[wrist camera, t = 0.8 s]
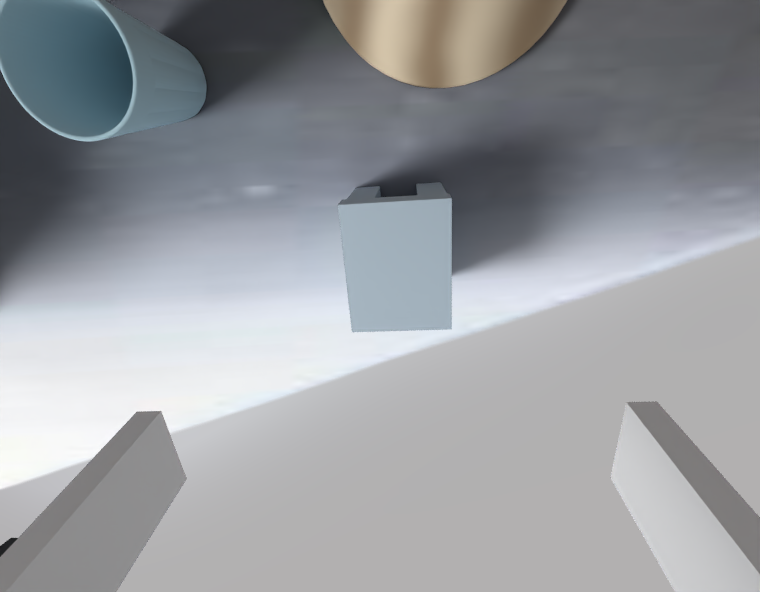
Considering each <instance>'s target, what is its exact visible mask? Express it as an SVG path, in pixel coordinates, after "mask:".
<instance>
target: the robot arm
mask: <svg viewBox="0 0 760 592" xmlns="http://www.w3.org/2000/svg"><path fill="white" fill-rule="evenodd" d="M611 480H612V482H613V483H614V485H615V487H616V489H617V490H618V492H619V494H620V496H621V497H622V499H623V501H624V503H625V504H626V506H627V508H628V510H629V512H630V513H631V515H632V517H633V518H634V520H635V522H636V524H637V525H638V527H639V529H640V531H641V533H642V535H643V536H644V538H645V540H646V542H647V543H648V545H649V547H650V549H651V550H652V552H653V554H654V556H655V557H656V559H657V561H658V563H659V565H660V566H661V568H662V570H663V572H664V573H665V575H666V577H667V579H668V580H669V582H670V584H671V586H672V587H673V589H674V591H675V592H760V517H759V516H758V515H757V514H756V513H755V512H754V510H753V509H752V508H751V507H750V506H749V505H748V504H747V503H746V502H745V500H744V499H743V498H742V497H741V496H740V495H739V494H738V492H737V491H736V490H735V489H734V488H733V487H732V486H731V485H730V483H729V482H728V481H727V480H726V479H725V478H724V477H723V475H722V474H721V473H720V472H719V471H718V470H717V469H716V468H715V467H714V465H713V464H712V463H711V462H710V461H709V460H708V459H707V457H706V456H704V454H703V453H702V452H701V451H700V450H699V449H698V447H697V446H696V445H695V444H694V443H693V442H692V441H691V439H690V438H689V437H688V436H687V435H686V434H685V433H684V432H683V430H682V429H681V428H680V427H679V426H678V425H677V424H676V423H675V422H674V420H673V419H672V418H671V417H670V416H669V415H668V414H667V413H666V411H665V410H664V409H663V408H662V407H661V406H660V404H659V403H658V402H627V403H626V407H625V412H624V416H623V421H622V426H621V430H620V435H619V440H618V445H617V449H616V454H615V459H614V463H613V468H612V473H611ZM185 481H186V476H185V473H184V470H183V468H182V465H181V463H180V460H179V457H178V455H177V452H176V449H175V447H174V445H173V441H172V439H171V436H170V434H169V431H168V428H167V426H166V423H165V420H164V418H163V415H162V412H161V411H150V412H136V413H135V414H134V415H133V416H132V418H131V419H130V420H129V421H128V422H127V423H126V424H125V425H124V426H123V427H122V428H121V429H120V430H119V431H118V432H117V433H116V435H115V436H114V437H113V438H112V439H111V440H110V441H109V442H108V443H107V444H106V445H105V446H104V447H103V448H102V449H101V451H100V452H99V453H98V454H97V455H96V456H95V457H94V458H93V459H92V460H91V461H90V462H89V463H88V464H87V465H86V467H85V468H84V469H83V470H82V471H81V472H80V473H79V474H78V475H77V476H76V477H75V478H74V479H73V480H72V482H70V484H69V485H68V486H67V487H66V488H65V489H64V490H63V491H62V492H61V493H60V494H59V495H58V496H57V497H56V498H55V499H54V501H53V502H52V503H51V504H50V505H49V506H48V507H47V508H46V509H45V510H44V511H43V512H42V513H41V514H40V516H38V518H37V519H36V520H35V521H34V522H33V523H32V524H31V525H30V526H29V527H28V528H27V529H26V530H25V532H23V533H22V535H21V536H20V537H19V538H10V539H9V540H8V541H6V542H5V543H4V544H2V545H1V546H0V592H116V591H117V590H118V588H119V587H120V585H121V583H122V582H123V580H124V578H125V577H126V575H127V573H128V572H129V571H130V569H131V567H132V566H133V564H134V562H135V561H136V559H137V558H138V556H139V554H140V553H141V551H142V550H143V548H144V546H145V545H146V543H147V542H148V540H149V538H150V537H151V535H152V534H153V532H154V530H155V529H156V527H157V526H158V524H159V522H160V521H161V519H162V518H163V516H164V514H165V513H166V511H167V510H168V508H169V506H170V504H171V503H172V502H173V500H174V498H175V497H176V495H177V494H178V492H179V490H180V489H181V487H182V486H183V484H184V482H185Z"/></svg>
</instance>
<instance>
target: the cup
mask: <svg viewBox="0 0 760 592" xmlns="http://www.w3.org/2000/svg"><path fill="white" fill-rule="evenodd" d="M0 70H1V72H2V74H3V77H4V79H5V81H6V83H7V84H8V86H9V88H10V90H11V91H12V93H13V94H14V96H15V97H16V99H17V100H18V101H19V103H20V104H21V105H22V106H23V107H24V109H25V110H26V111H27V112H28V113H29V114H30V115H31V116H32V117H34V118H35V119H36V120H37V121H38V122H40V123H41V124H42V125H43V126H45V127H46V128H48V129H50V130H51V131H53V132H55V133H57V134H59V135H61V136H64V137H67V138H69V139H73V140H78V141H99V140H103V139H108V138H112V137H116V136H121V135H125V134H129V133H133V132H138V131H142V130H147V129H151V128H155V127H160V126H164V125H169V124H173V123H177V122H181V121H185V120H187V119H189V118H191V117H193V116H195V115H196V114H197V113H198V112H199V111H200V109H201V108H202V106H203V104H204V102H205V99H206V90H207V86H206V80H205V76H204V73H203V70H202V67H201V66H200V64H199V62H198V61H197V60H196V58H195V57H194V56H193V54H192V53H191V52H190V51H189V50H188V49H186V48H185V47H183V46H181V45H180V44H178V43H177V42H175V41H173V40H172V39H170V38H168V37H166V36H165V35H163V34H161V33H159V32H158V31H156V30H154V29H153V28H151V27H149V26H147V25H146V24H144V23H142V22H140V21H139V20H137V19H135V18H134V17H132V16H130V15H128V14H127V13H125V12H123V11H121V10H120V9H118V8H116V7H115V6H113V5H112V4H110V3H109V2H107V1H105V0H0Z"/></svg>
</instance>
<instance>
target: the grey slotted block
mask: <svg viewBox="0 0 760 592" xmlns="http://www.w3.org/2000/svg"><path fill="white" fill-rule="evenodd" d="M416 190H417V195H412V196H396V197H381V194H380V186H376V187H360V188H355V190H354V191H353V192H352V193H351V195H350V196H349V197H348V198H347V199H346V200H342V201H341V202H340V203H339V204H338V212H339V221H340V230H341V239H342V248H343V256H344V265H345V274H346V283H347V292H348V301H349V310H350V318H351V327H352V332H375V331H409V330H443V329H452V198H451V196H450V194H449V193H446V191H445V189H444V187H443V185H442V184H441V182H439V183H423V184H416Z"/></svg>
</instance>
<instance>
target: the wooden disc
mask: <svg viewBox="0 0 760 592" xmlns="http://www.w3.org/2000/svg"><path fill="white" fill-rule="evenodd" d="M323 2H324V4H325V7H326V8H327V10H328V12H329V14H330V16H331V18H332V20H333V22H334V24H335V25H336V26H337V28H338V29H339V31H340V32H341V34H342V35H343V37H344V38H345V39H346V41H347V42H348V43H349V44H350V45H351V47H352V48H353V49H354V50H355V51H356V52H357V53H358V54H359V55H360V56H361V57H362V58H363V59H364V60H365V61H367V62H368V63H369V64H370V65H371V66H373V67H374V68H376V69H377V70H379V71H380V72H382V73H383V74H385V75H387V76H389V77H391V78H393V79H395V80H398V81H400V82H403V83H406V84H410V85H413V86H418V87H425V88H451V87H457V86H463V85H466V84H470V83H473V82H476V81H479V80H482V79H484V78H486V77H488V76H490V75H492V74H495V73H496V72H498V71H500V70H501V69H503V68H504V67H506V66H508V65H509V64H511V63H512V62H514V61H515V60H516V59H518V58H519V57H520V56H521V55H523V54H524V53H525V52H526V51H528V50H529V49H530V48H531V47H532V46H533V45H534V44H535V43H536V42H537V41H538V40H539V39H540V38H541V36H542V35H543V34H544V33H545V32H546V30H547V29H548V28H549V27H550V25H551V24H552V23H553V22H554V20H555V19H556V18H557V16H558V14H559V13H560V11H561V10H562V8H563V7H564V5H565V3H566V2H567V0H323Z"/></svg>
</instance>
